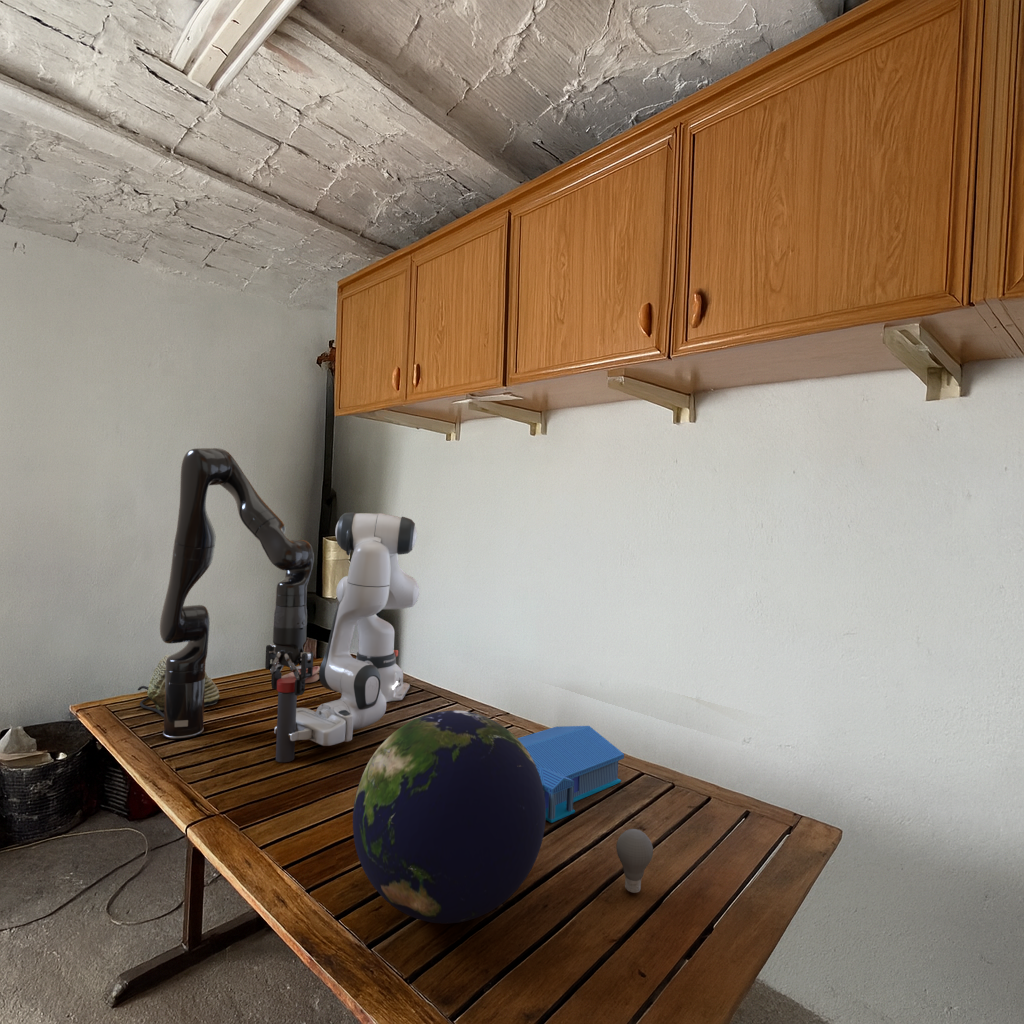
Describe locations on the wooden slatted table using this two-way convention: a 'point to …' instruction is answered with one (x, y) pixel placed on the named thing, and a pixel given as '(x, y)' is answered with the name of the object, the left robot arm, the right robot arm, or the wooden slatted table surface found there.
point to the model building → (571, 765)
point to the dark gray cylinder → (285, 726)
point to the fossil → (158, 687)
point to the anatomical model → (310, 679)
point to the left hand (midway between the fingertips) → (287, 691)
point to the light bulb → (634, 857)
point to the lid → (286, 685)
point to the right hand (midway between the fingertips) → (282, 734)
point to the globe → (449, 817)
